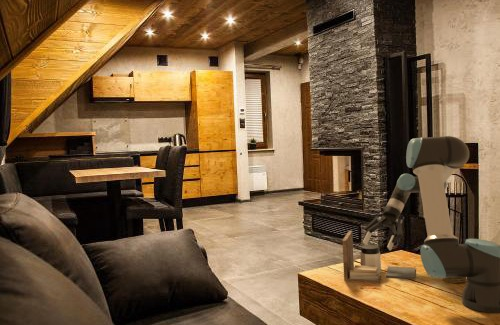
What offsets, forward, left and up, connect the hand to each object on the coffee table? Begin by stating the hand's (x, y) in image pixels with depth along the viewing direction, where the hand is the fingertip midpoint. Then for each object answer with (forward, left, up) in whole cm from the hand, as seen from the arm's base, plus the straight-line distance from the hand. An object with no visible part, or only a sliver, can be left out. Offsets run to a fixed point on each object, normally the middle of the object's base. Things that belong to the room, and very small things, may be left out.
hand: (376, 246), depth 202 cm
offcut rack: (-10, +5, -11) cm, 16 cm away
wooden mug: (-11, -34, -11) cm, 37 cm away
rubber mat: (-4, -11, -11) cm, 16 cm away
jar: (-5, +2, -11) cm, 13 cm away
